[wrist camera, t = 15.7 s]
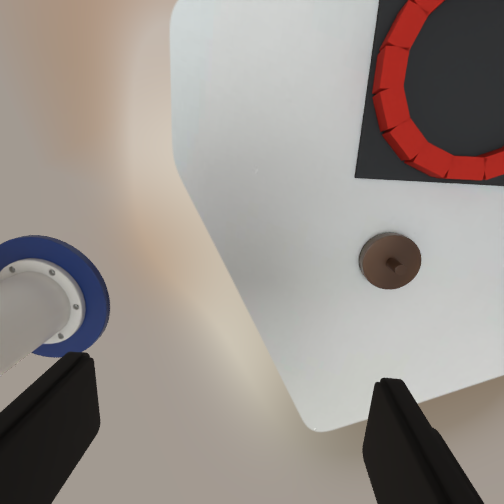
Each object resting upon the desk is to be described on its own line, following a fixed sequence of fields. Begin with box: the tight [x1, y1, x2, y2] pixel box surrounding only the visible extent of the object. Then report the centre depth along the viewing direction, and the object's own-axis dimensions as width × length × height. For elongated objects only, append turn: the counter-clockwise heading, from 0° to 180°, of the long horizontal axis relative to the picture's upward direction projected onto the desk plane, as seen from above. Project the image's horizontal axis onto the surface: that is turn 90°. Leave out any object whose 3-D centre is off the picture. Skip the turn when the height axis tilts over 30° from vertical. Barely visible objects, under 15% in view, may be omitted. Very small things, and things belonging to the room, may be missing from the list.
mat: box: [355, 0, 504, 186], centre depth 29 cm, size 20×20×1 cm
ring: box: [372, 0, 504, 180], centre depth 28 cm, size 19×19×2 cm
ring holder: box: [359, 233, 421, 289], centre depth 33 cm, size 6×6×4 cm
